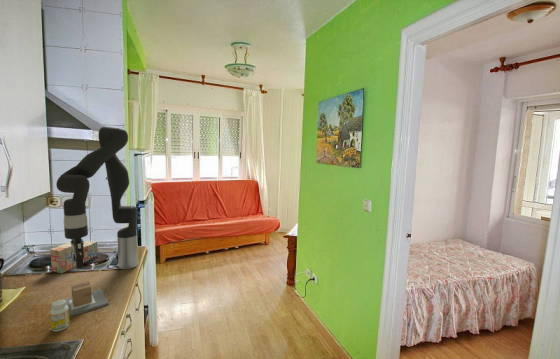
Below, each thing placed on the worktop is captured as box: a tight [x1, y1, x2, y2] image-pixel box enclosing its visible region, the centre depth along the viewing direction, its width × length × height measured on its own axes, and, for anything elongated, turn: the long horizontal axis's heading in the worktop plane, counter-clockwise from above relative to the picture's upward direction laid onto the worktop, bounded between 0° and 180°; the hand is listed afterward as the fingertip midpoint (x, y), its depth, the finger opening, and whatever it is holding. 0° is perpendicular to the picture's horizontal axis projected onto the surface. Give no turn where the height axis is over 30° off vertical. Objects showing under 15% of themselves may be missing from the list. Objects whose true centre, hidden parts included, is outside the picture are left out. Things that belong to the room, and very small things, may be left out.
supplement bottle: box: [49, 299, 71, 332], centre depth 101 cm, size 5×5×10 cm
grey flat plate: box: [62, 288, 109, 318], centre depth 116 cm, size 14×16×1 cm
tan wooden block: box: [70, 280, 92, 307], centre depth 116 cm, size 6×6×7 cm
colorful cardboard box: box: [49, 240, 99, 274], centre depth 151 cm, size 21×6×12 cm, turn 165°
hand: (78, 263), depth 113 cm, fingers open, 8 cm apart
